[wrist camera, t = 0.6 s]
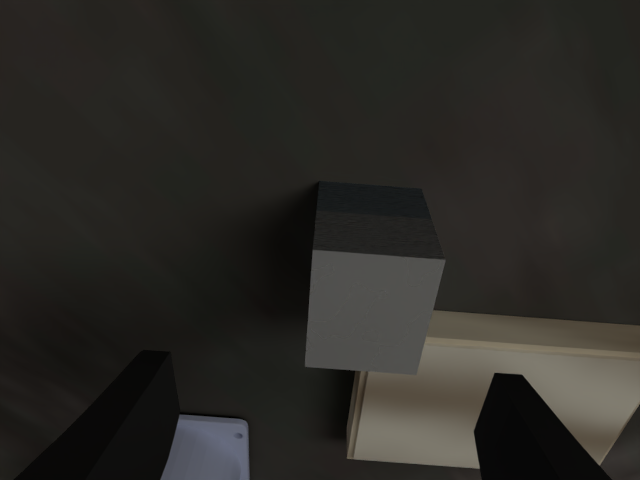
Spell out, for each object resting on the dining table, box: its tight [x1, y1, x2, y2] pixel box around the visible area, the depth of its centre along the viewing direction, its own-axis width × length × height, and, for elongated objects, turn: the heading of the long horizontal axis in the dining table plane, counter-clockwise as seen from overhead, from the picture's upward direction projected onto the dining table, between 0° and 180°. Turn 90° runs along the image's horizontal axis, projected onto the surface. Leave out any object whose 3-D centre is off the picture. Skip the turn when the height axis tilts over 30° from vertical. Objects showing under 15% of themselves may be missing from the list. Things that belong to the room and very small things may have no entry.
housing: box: [305, 181, 445, 375], centre depth 17 cm, size 5×4×5 cm
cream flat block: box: [347, 310, 640, 469], centre depth 23 cm, size 9×13×2 cm
